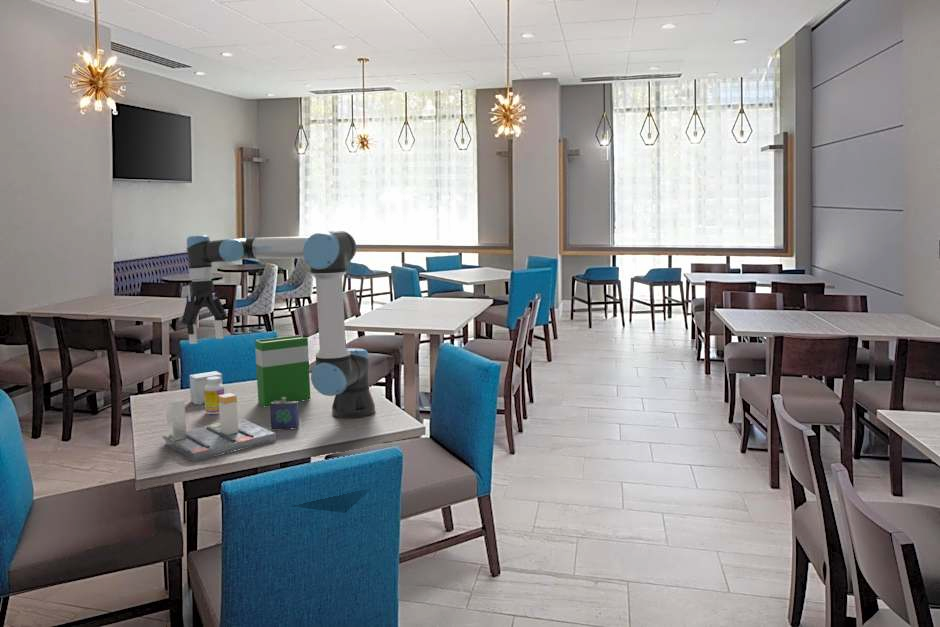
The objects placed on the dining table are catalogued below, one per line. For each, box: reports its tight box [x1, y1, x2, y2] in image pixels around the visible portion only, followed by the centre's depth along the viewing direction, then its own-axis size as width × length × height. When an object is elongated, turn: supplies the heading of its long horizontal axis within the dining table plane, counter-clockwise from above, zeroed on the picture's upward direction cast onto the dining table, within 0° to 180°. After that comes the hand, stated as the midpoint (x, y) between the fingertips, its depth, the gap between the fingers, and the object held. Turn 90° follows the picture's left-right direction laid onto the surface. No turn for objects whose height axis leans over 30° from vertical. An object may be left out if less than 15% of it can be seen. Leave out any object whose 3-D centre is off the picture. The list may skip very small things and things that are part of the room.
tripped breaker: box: [218, 392, 239, 435], centre depth 231 cm, size 4×4×12 cm
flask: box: [269, 397, 300, 430], centre depth 243 cm, size 9×3×11 cm, turn 95°
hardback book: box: [254, 334, 311, 408], centre depth 275 cm, size 18×7×24 cm, turn 124°
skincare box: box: [188, 370, 224, 405], centre depth 278 cm, size 10×6×10 cm, turn 131°
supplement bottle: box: [204, 376, 225, 415], centre depth 262 cm, size 7×7×13 cm
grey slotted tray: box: [162, 397, 277, 462], centre depth 229 cm, size 23×27×15 cm
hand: (207, 341), depth 256 cm, fingers open, 13 cm apart
